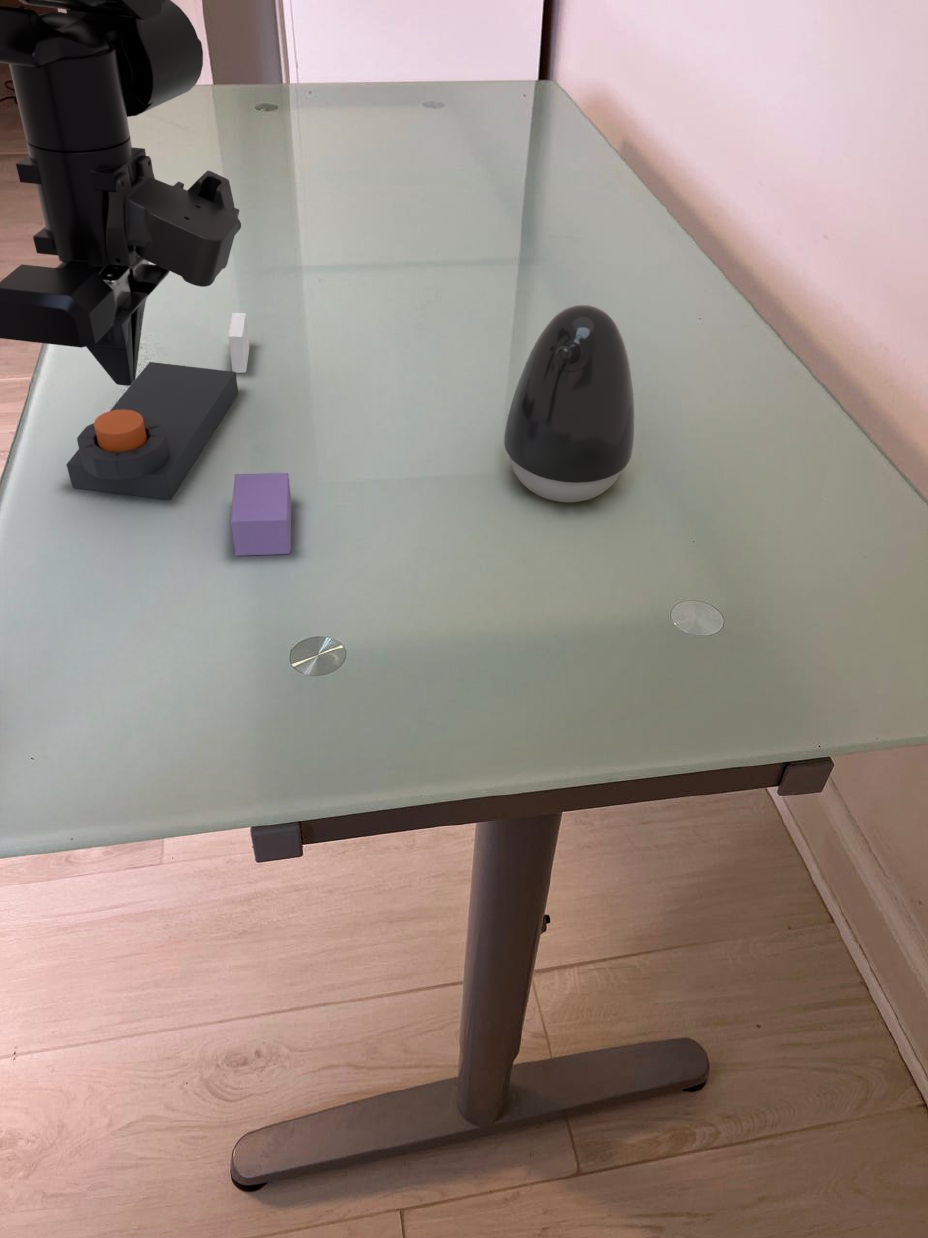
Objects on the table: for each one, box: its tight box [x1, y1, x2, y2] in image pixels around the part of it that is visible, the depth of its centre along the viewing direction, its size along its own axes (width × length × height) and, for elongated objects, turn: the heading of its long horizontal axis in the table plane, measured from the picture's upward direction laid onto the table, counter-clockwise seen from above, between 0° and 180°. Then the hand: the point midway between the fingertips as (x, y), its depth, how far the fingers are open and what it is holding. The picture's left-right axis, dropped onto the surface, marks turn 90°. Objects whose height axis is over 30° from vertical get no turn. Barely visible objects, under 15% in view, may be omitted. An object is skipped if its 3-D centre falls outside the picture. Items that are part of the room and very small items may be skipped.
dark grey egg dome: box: [503, 304, 635, 503], centre depth 76 cm, size 10×10×15 cm
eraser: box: [227, 312, 250, 374], centre depth 93 cm, size 1×5×4 cm, turn 5°
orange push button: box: [93, 410, 147, 452], centre depth 76 cm, size 4×4×2 cm
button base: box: [66, 361, 239, 501], centre depth 82 cm, size 18×8×4 cm, turn 172°
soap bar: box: [230, 472, 292, 557], centre depth 74 cm, size 6×4×3 cm, turn 7°
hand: (125, 382), depth 67 cm, fingers closed
